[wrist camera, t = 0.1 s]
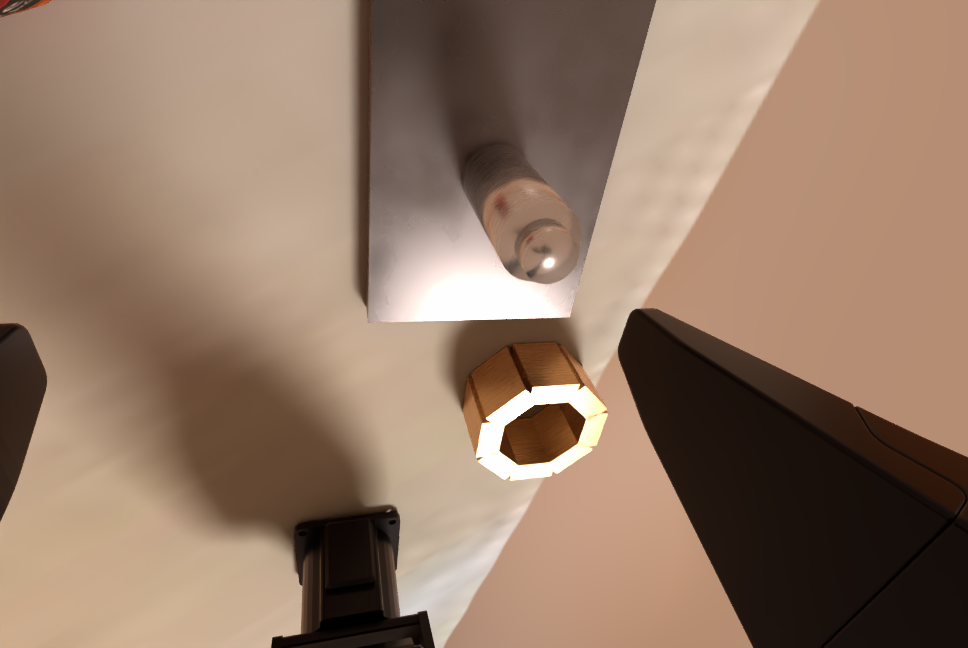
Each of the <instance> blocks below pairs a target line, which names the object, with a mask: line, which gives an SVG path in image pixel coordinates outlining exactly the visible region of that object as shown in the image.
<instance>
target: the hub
mask: <svg viewBox="0 0 968 648" xmlns="http://www.w3.org/2000/svg"><path fill="white" fill-rule="evenodd" d="M471 375H472V378H467V384H466V391H465V397H464V404H463V410H462V411H463V414H464V418H465V421H466V424H467V428H468V431H469V435H470V438H471V442H472V445H473V448H474V452H475V455H476V457H477V460H478V462H479V463H481V464H482V465H484V466H485V467H487V468H488V469H490V470H491V471H493V472H494V473H495V474H497V475H498V476H500V477H501V478H503V479H506V478H507V477H509V480H519V479H528V478H536V477H545V476H551V474H552V471H554V472H556V473H559V472H560V471H562V470H563V469H564V468H566V467H568V466H569V465H570V464H572V463H574V462H575V461H577V460H578V459H580V458H581V457H582V456H584V455H585V454H587V453H588V452H590V451H591V450H592V448H591V446H595V445H597V442H598V439H599V436H600V434H601V431H602V429H603V426H604V423H605V420H606V418H607V415H608V412H607V411H606V410H607V407H606V406H605V404H604V402H603V401H602V399H601V397H600V396H599V394H598V392H597V391H596V389H595V387H594V386H593V384H592V382H591V381H590V379H589V377H588V375H587V374H586V372H585V370H584V369H583V367H582V366H581V365H580V364H579V363H578V362H577V361H576V359H575V358H574V357H573V356H572V355H571V354H570V353H569V352H568V351H567V350H566V349H565V348H564V347H563V346H562V345H561V344H560V345H559V346H558V345H557V343H556V342H545V343H520V344H513V345H512V350H510V349H509V348H508V347H507V346H506V347H505V348H503V349H502V350H501V351H499V352H498V353H497V354H495V355H494V356H493V357H491V358H490V359H489V360H487V361H486V362H485V363H483V364H482V365H481V366H479V367H478V368H477V369H475V370H474V371H473V372H471ZM538 404H550V405H549V406H547V407H546V408H544V409H543V410H542V411H540V412H539V413H537V414H536V415H535V416H533V417H532V418H522V419H515V418H516V417H518V416H519V415H520V414H522V413H523V412H525V411H526V410H527V409H529V408H530V407H532V406H533V405H538Z"/></svg>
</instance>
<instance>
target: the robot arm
mask: <svg viewBox="0 0 968 648" xmlns="http://www.w3.org/2000/svg"><path fill="white" fill-rule="evenodd" d="M618 357H619V361H620V364H621V366H622V369H623V372H624V374H625V377H626V380H627V382H628V385H629V388H630V391H631V393H632V396H633V399H634V401H635V404H636V407H637V410H638V412H639V415H640V418H641V420H642V422H643V425H644V428H645V430H646V432H647V434H648V436H649V439H650V441H651V443H652V445H653V447H654V449H655V451H656V453H657V455H658V457H659V459H660V461H661V463H662V465H663V467H664V469H665V471H666V473H667V475H668V477H669V479H670V481H671V483H672V485H673V487H674V489H675V491H676V493H677V495H678V497H679V499H680V501H681V503H682V505H683V507H684V509H685V511H686V513H687V515H688V517H689V519H690V521H691V523H692V525H693V527H694V529H695V531H696V533H697V535H698V538H699V540H700V542H701V544H702V546H703V548H704V550H705V552H706V554H707V556H708V558H709V560H710V562H711V564H712V566H713V568H714V570H715V572H716V574H717V576H718V578H719V580H720V582H721V584H722V586H723V588H724V590H725V592H726V594H727V596H728V598H729V600H730V602H731V604H732V606H733V608H734V610H735V612H736V614H737V616H738V618H739V620H740V622H741V624H742V626H743V628H744V630H745V632H746V634H747V636H748V638H749V640H750V642H751V644H752V646H753V648H968V457H966V456H964V455H962V454H959V453H957V452H955V451H953V450H950V449H948V448H946V447H944V446H941V445H939V444H937V443H935V442H932V441H930V440H928V439H926V438H923V437H921V436H919V435H917V434H915V433H913V432H911V431H908V430H906V429H904V428H902V427H900V426H898V425H895V424H894V423H891V422H889V421H887V420H885V419H883V418H881V417H879V416H877V415H875V414H873V413H871V412H868V411H866V410H864V409H862V408H860V407H858V406H856V407H854V406H853V404H851V403H850V402H848V401H846V400H844V399H841V398H839V397H837V396H835V395H833V394H831V393H829V392H827V391H825V390H823V389H821V388H819V387H817V386H815V385H813V384H810V383H808V382H806V381H804V380H802V379H800V378H798V377H796V376H794V375H792V374H790V373H788V372H786V371H784V370H782V369H780V368H778V367H776V366H773V365H771V364H769V363H767V362H765V361H763V360H761V359H759V358H757V357H755V356H752V355H751V354H749V353H747V352H745V351H743V350H740V349H738V348H736V347H734V346H732V345H730V344H728V343H726V342H724V341H722V340H720V339H718V338H716V337H714V336H711V335H710V334H707V333H705V332H703V331H701V330H699V329H697V328H695V327H693V326H691V325H689V324H687V323H685V322H683V321H680V320H678V319H676V318H675V317H672V316H670V315H668V314H666V313H664V312H662V311H660V310H658V309H654V308H645V309H635V310H633V311H632V312H631V313H630V315H629V317H628V320H627V323H626V326H625V328H624V331H623V334H622V337H621V340H620V343H619V346H618ZM46 387H47V375H46V371H45V368H44V366H43V364H42V361H41V359H40V357H39V354H38V352H37V350H36V347H35V345H34V343H33V340H32V338H31V336H30V334H29V332H28V330H27V329H26V328H25V327H24V326H22V325H20V324H17V323H6V324H0V521H1V519H2V517H3V515H4V513H5V510H6V508H7V506H8V504H9V501H10V499H11V497H12V494H13V492H14V489H15V487H16V484H17V481H18V478H19V475H20V472H21V469H22V466H23V463H24V460H25V456H26V453H27V450H28V447H29V443H30V440H31V437H32V434H33V430H34V427H35V424H36V421H37V417H38V414H39V411H40V408H41V404H42V401H43V398H44V395H45V391H46ZM399 530H400V516H399V514H398V513H396V512H390V513H382V514H374V515H365V516H357V517H349V518H341V519H333V520H325V521H317V522H309V523H301V524H298V525H296V526H295V528H294V539H295V548H296V557H297V566H298V575H299V583H300V585H302V586H303V588H302V619H301V634H299V635H293V636H287V637H283V636H277V637H273V638H272V645H271V648H435V646H434V641H433V637H432V632H431V628H430V623H429V619H428V614H427V611H421V612H418V613H417V614H413V615H408V616H402V617H400V609H399V601H398V592H397V583H396V574H395V571H396V569H397V557H398V544H399Z"/></svg>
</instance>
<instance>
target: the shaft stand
mask: <svg viewBox="0 0 968 648" xmlns="http://www.w3.org/2000/svg"><path fill="white" fill-rule="evenodd" d="M655 3H656V0H370V45H369V133H368V220H367V317H368V323H375V322H412V321H449V320H486V319H523V318H560V317H570V314H571V310H572V307H573V303H574V299H575V296H576V292H577V288H578V285H579V281H580V277H581V274H582V270H583V266H584V263H585V259H586V256H587V252H588V248H589V245H590V241H591V237H592V234H593V230H594V226H595V223H596V219H597V215H598V212H599V208H600V204H601V201H602V197H603V193H604V190H605V186H606V182H607V179H608V175H609V171H610V168H611V164H612V160H613V157H614V153H615V149H616V146H617V142H618V138H619V135H620V131H621V127H622V124H623V120H624V116H625V113H626V109H627V105H628V102H629V98H630V94H631V91H632V87H633V83H634V80H635V76H636V72H637V69H638V65H639V61H640V58H641V54H642V50H643V47H644V43H645V39H646V36H647V32H648V28H649V25H650V21H651V17H652V14H653V10H654V7H655Z"/></svg>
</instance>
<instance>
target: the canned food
mask: <svg viewBox="0 0 968 648" xmlns="http://www.w3.org/2000/svg"><path fill="white" fill-rule="evenodd" d="M49 1H51V0H0V17H4V16H8V15H11V14H15V13H18V12H22V11H25V10H28V9H31V8H34V7H37V6H41V5H44V4H46V3H48V2H49Z"/></svg>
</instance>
